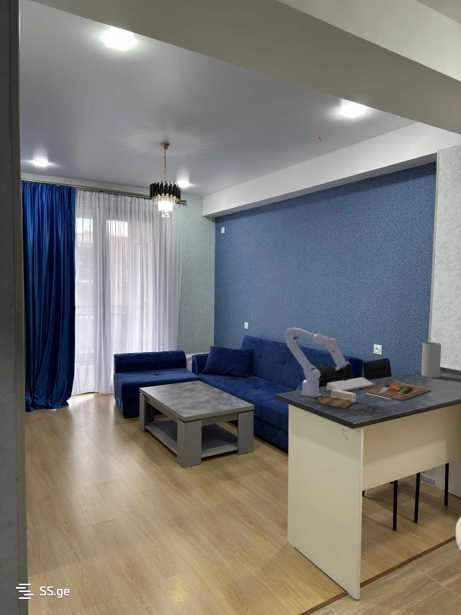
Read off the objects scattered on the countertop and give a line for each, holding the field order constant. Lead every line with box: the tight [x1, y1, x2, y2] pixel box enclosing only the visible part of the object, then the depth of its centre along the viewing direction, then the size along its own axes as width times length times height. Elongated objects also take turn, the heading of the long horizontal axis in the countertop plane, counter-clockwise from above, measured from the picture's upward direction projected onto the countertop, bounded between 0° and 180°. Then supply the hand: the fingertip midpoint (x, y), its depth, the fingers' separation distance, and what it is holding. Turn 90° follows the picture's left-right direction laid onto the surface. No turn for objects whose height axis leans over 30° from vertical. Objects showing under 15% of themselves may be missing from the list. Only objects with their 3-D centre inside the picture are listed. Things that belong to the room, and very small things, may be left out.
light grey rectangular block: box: [330, 389, 357, 404], centre depth 240 cm, size 14×4×5 cm, turn 43°
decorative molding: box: [325, 376, 375, 392], centre depth 269 cm, size 34×5×10 cm
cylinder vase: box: [421, 341, 442, 379], centre depth 307 cm, size 12×12×25 cm
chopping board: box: [362, 381, 431, 401], centre depth 262 cm, size 45×27×3 cm, turn 130°
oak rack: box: [317, 394, 352, 409], centre depth 232 cm, size 16×9×3 cm, turn 49°
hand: (349, 378), depth 236 cm, fingers open, 7 cm apart
